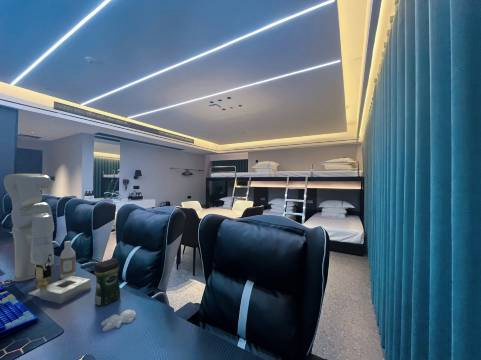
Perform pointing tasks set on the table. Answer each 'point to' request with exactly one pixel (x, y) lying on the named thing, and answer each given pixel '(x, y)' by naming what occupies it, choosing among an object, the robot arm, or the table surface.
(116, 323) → the astronaut figurine
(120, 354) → the table surface
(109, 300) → the coffee jar
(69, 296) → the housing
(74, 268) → the bath foam
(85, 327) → the table surface
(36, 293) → the mat
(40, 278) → the end cover
